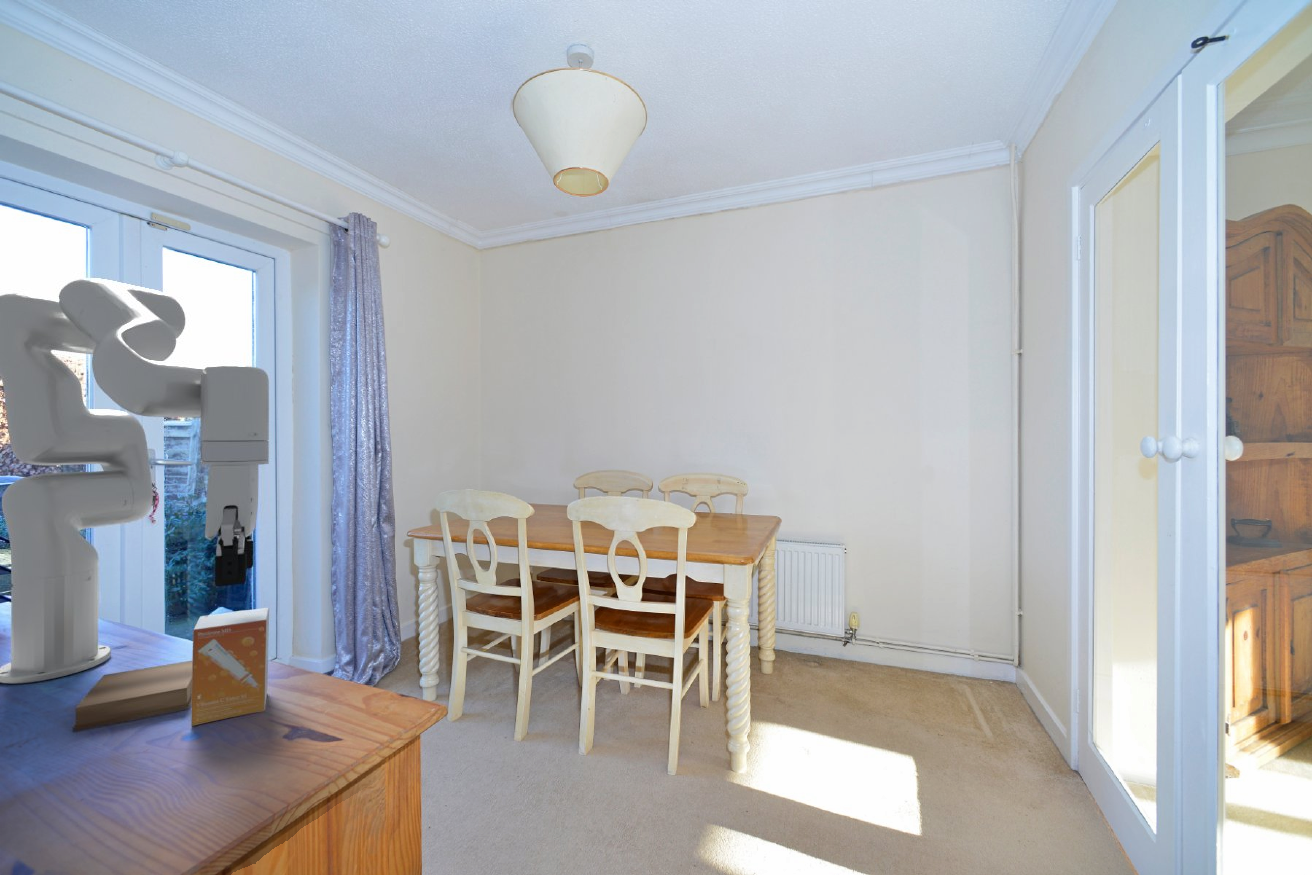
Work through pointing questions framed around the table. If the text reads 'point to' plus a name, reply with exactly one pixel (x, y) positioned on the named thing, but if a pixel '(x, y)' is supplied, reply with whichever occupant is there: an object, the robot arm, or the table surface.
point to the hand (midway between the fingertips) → (235, 576)
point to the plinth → (136, 695)
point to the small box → (229, 665)
